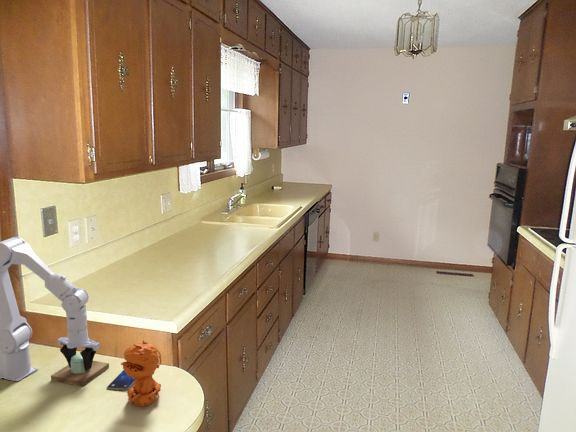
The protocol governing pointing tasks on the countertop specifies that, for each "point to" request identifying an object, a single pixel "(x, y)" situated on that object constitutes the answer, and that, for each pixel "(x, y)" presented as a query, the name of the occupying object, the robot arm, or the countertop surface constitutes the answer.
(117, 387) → the smartphone
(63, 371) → the stub block
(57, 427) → the countertop surface
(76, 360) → the cap
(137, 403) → the toy dinosaur
